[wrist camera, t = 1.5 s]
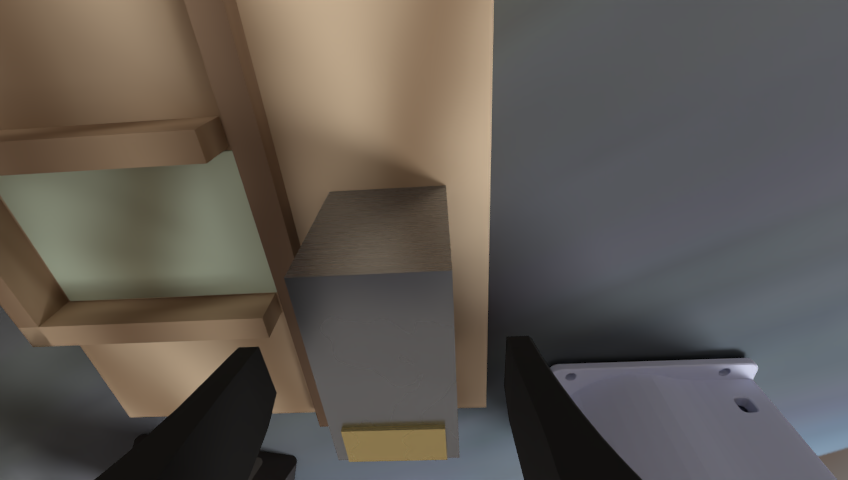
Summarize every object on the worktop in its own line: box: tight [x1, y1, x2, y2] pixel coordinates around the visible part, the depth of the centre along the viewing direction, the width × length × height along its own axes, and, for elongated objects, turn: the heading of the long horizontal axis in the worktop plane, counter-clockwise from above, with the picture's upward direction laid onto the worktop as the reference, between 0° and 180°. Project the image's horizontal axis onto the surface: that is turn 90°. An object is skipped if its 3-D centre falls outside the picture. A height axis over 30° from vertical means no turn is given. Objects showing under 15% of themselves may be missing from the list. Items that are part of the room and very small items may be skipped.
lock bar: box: [284, 185, 459, 462], centre depth 14 cm, size 8×4×5 cm, turn 4°
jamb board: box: [0, 0, 494, 427], centre depth 15 cm, size 18×18×2 cm
